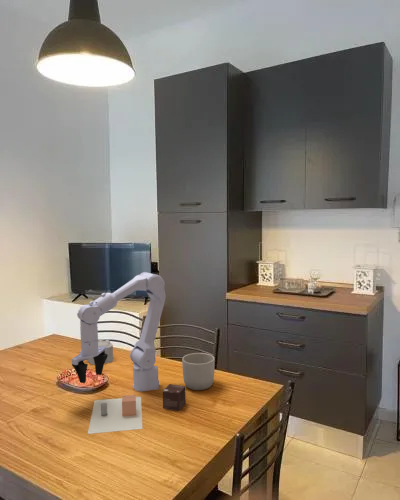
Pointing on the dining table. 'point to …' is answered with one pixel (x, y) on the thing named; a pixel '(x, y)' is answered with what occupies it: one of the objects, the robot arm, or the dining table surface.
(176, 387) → the box
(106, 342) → the lumpy-topped squat cylinder
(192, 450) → the dining table surface
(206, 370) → the planter
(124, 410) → the peach colored cube
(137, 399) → the board
